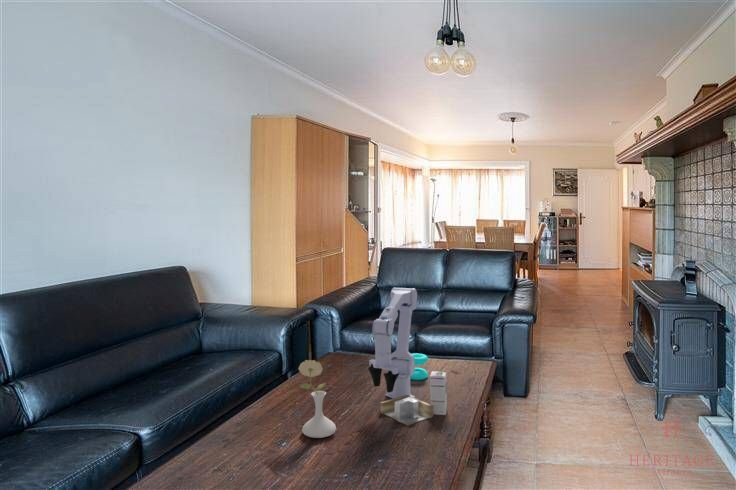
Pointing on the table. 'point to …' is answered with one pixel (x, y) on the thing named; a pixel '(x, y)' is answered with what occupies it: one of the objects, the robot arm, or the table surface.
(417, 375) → the donuts
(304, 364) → the flower in vase
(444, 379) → the syrup box
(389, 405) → the arena
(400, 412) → the bracket
